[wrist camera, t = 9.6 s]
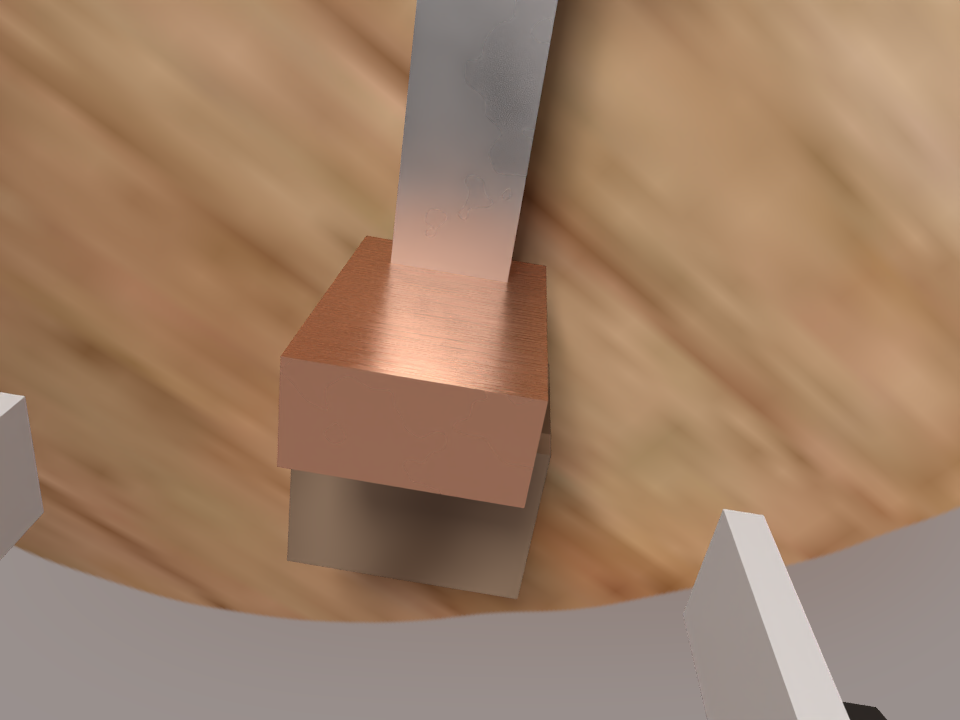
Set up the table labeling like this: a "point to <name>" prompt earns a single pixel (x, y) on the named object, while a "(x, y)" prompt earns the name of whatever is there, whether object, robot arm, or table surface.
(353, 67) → the table surface
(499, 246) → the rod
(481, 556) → the socket
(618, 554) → the table surface
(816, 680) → the robot arm
